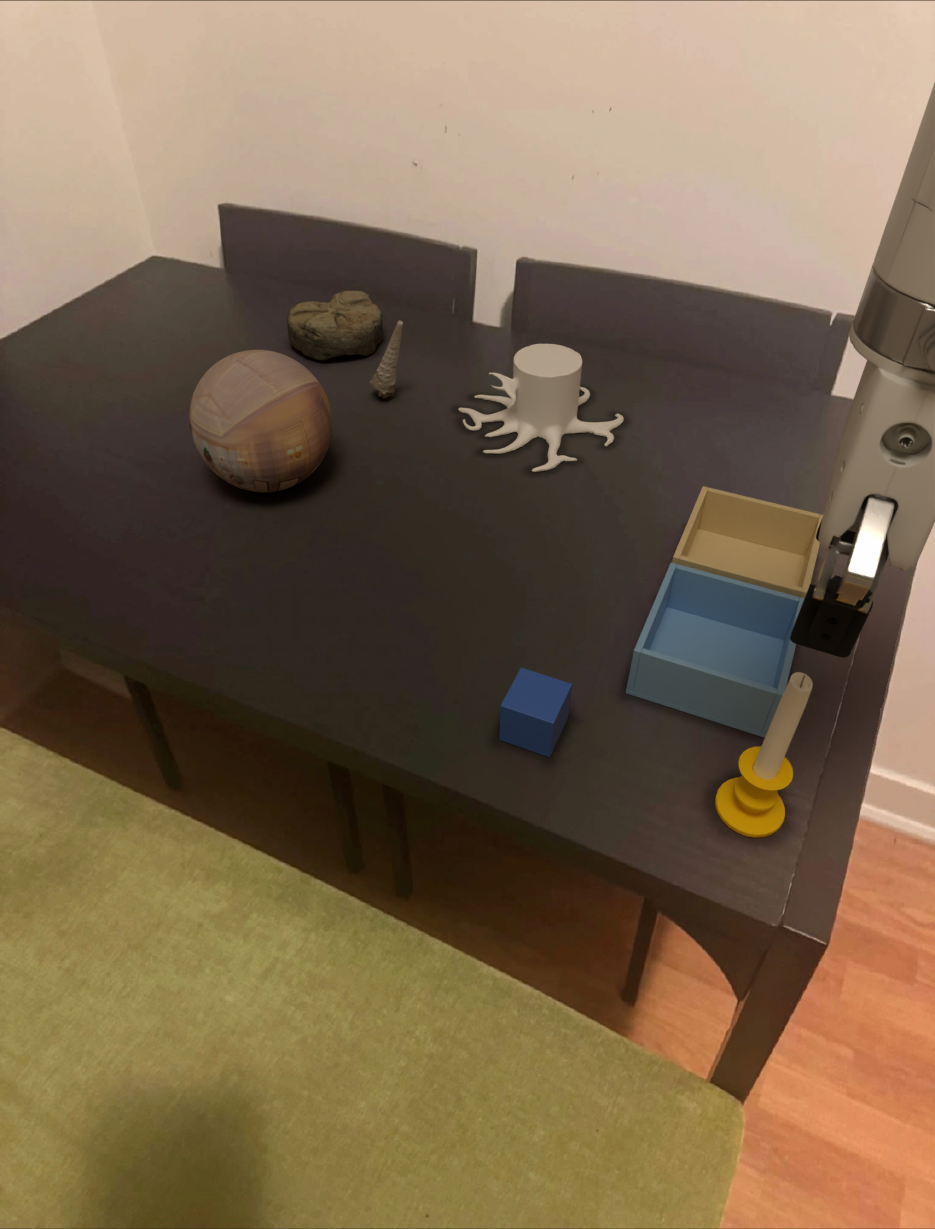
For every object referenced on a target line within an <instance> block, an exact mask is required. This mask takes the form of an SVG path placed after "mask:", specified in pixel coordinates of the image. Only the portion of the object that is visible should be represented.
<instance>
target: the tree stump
mask: <svg viewBox="0 0 935 1229" xmlns="http://www.w3.org/2000/svg"><path fill="white" fill-rule="evenodd" d="M512 367H513V368H512V378H510V377H508V376H506V375H504V374H502V373H498V372H489V373H488V375H493V376H495V377H497V379H499V380H500V382H501V384H502V385H501V386H496V385H493V384H489V385H490V386H491V388H492V389H495V390H497V391H502V392H503V391H504V392H505V393H506V395H508V397H507V396H501V395H488V394H476V395H474V398H475V399H481V400H484V401H491V402H496V403H499V404H502V405H503V406H505V407H506V408H505V409H503V410H500V411H497V412H494V413H491V414H485V413H481V412H480V411H478V410H475V409H473V408H469V407H458V409H457V410H458V411H459V412H460V413H462V414H466V415H467V416H469V417H470V418H471V419H472V421H473V423H474V424H475V425H474V426H471V425H469V424H468V423H467V422H466V418H464V419H462V424H463V425H464V427H465V428H466V429H467V430H469V431H479V430H481V429H482V425H483V424H482V423H495V422H503V423H504V424H503V425H502V427H500V428H498V429H496V430H494V431H491V432H488V433H486V434H485V435H484V437H485V438H494V437H500V436H504V435H508V434H512V433H517V436H516V439H515V440H514V441H513V442H512V443H510V444H509V445H507V446H505V447H502V448H498V449H484V450H483V451H482V453H484V454H491V455H492V454H494V455H495V454H496V455H497V454H506V453H509V452H512V451H516V450H517V449H520V448H522V447H524V446H525V445H526V444H528V443H529V442H530V441H532V440H533V439H536V438H537V437H538V438H542V439H543V440H545V442H546V443H547V444H548V446H549V447H548V449H547V462H546V463H545V464H542V465H540V466H536V467H534V468H532V469H531V472H532V473H533V472H534V473H538V472H539V473H540V472H544V471H546V472H547V471H550V470H553V469H554V468H557V466H558V465H560V464H561V462H564V461H565V462H577V461H578V459H577V458H576V457H571V456H567V455H563V454H562V455H561V454H560V455H558V454H557V453H558V450H559V448H560V446H561V443H562V437H563V436H564V435H570V434H586V433H587V434H588V433H589V434H593V435H596V436H599V437H600V436H601V437H606V439H607V440H606V442H604V445H603V446H604V447H608V446H609V445H610V444H612V443H613V442H614V440H615V435H614V434H613V433H612V432H611V431H612V430H614V429H616V428H619V426H620V425H621V424H622V423H624V416H623V415H622V414H620V413H616V414H614V416H615V417H616V419H613V420H609V421H597V422H596V421H594V422H593V421H582V420H580V419H578V411H579V410H578V409H579V406H581V405H583V404H584V403H586V402H588V400H589V399H590V396H591V392H590V390H589V389H587V388H586V387H583V386H581V380H582V371H583V370H582V369H583V358H582V355H581V354H580V352H577V351H576V350H574V349H572V348H571V347H567V346H564V345H561V344H556V343H555V344H554V343H535V344H530V345H528V346H525V347H522V348H521V349H519V350H518V351H516V353H515V354H514V356H513V365H512ZM580 391H582V392H583V395H581V396H580Z"/></svg>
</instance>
